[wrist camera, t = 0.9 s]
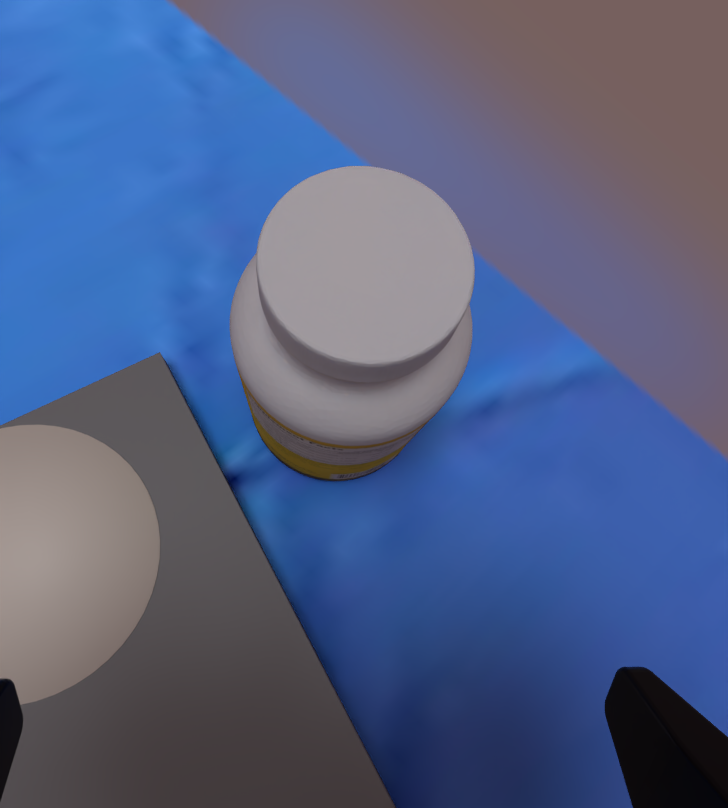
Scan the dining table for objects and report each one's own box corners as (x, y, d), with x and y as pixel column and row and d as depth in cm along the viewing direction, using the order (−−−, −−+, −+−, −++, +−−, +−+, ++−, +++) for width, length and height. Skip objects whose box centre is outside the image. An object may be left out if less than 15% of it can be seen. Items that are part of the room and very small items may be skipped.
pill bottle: (353, 299, 25) (400, 82, 14) (446, 424, 24) (579, 298, 13) (218, 382, 23) (148, 213, 12) (313, 519, 22) (331, 471, 11)
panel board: (444, 900, 20) (454, 923, 18) (90, 1171, 17) (74, 1219, 16) (166, 363, 23) (159, 351, 22) (-160, 515, 21) (-189, 511, 19)
